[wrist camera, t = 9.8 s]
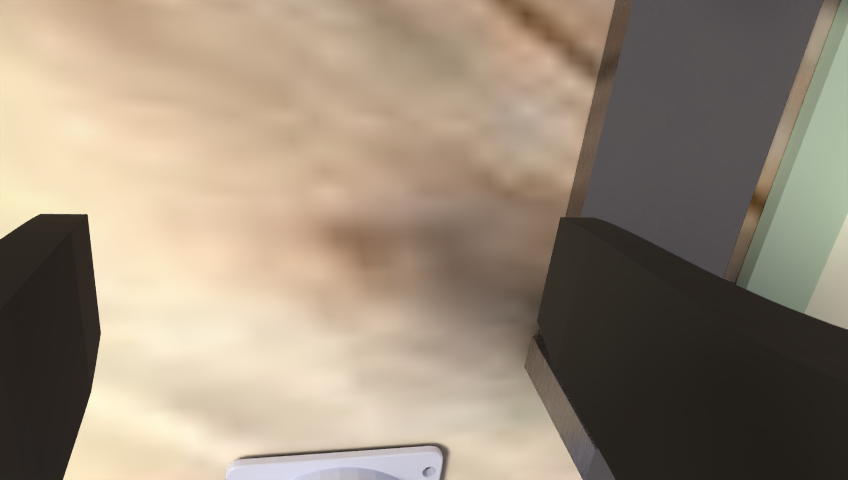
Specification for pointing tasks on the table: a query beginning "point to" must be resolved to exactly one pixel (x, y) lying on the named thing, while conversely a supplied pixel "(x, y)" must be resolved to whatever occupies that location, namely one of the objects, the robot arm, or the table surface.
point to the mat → (806, 187)
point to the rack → (678, 142)
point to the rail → (833, 285)
